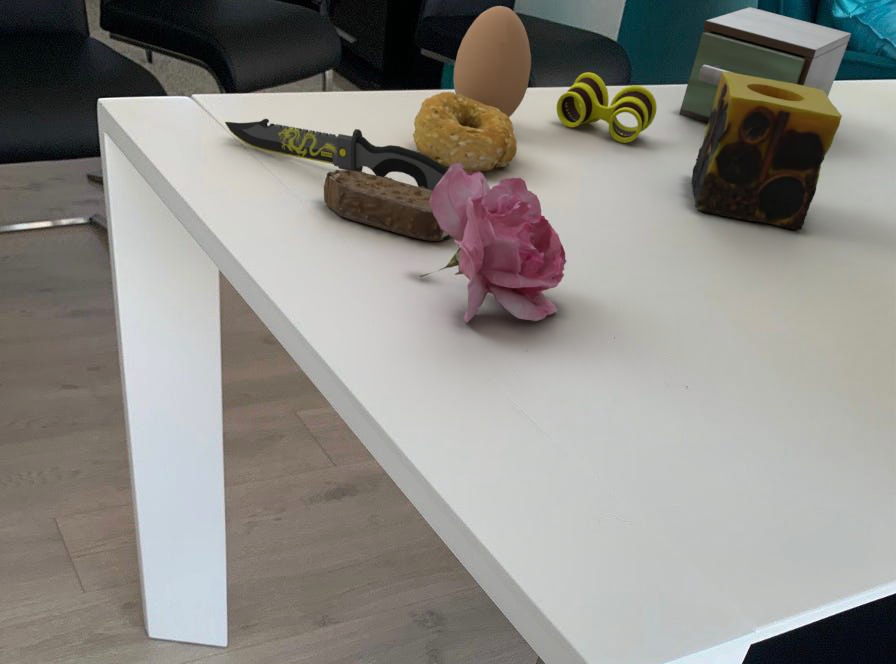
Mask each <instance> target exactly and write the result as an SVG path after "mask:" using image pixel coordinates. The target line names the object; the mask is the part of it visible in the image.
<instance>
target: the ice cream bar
mask: <svg viewBox="0 0 896 664" xmlns="http://www.w3.org/2000/svg"><path fill="white" fill-rule="evenodd" d="M432 192H433V191H432V190H428V189H426V188H425V187H424V186H422V187H418V185H413V184H410V183H406V182H404V181H403V182H402V181H400V180H399V181H398V180H394V178H392V177H388V176H385V177H380V176H376V175H375V174H372V173H368V172H365V171H362V172H357V171H350V170H344V169H336V170H335V171H328V172H327V173H326V177H325V181H324V184H323V202H324V203H325V205H326V206H327V209H331V211H334V212H335V213H336V214H337V216H339V217H340V216H341V217H342V218H345V219H348V220H351V221H354V222H357V223H361V224H364V225H368V226H371V227H374V228H378V229H382V230H386V231H389V232H393V233H395V234H399V235H403V236H407V237H410V238H414V239H417V240H423V241H430V242H442V241H443V240H446V239H447V238H450V237H451V236H450V235H449V234H447V233H446V232H444V231H443V230H441V229H440V226H439V224H438V222H437V220H436V218H435V216H434V215H433V211H432V208H431V205H430V203H429V201H430V198H431V195H432Z"/></svg>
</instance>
